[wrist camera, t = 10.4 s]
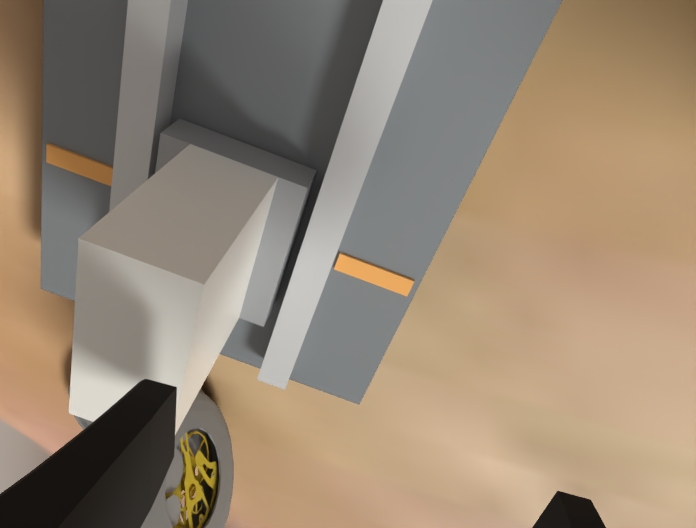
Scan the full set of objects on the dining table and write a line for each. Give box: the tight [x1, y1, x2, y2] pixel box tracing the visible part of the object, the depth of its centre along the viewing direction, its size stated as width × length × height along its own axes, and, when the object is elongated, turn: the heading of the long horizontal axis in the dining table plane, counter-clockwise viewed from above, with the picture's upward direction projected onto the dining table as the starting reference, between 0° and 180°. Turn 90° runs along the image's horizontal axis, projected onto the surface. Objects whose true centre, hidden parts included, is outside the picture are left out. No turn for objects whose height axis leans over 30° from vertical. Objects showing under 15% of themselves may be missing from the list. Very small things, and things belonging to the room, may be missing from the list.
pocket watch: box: [69, 388, 234, 528], centre depth 20 cm, size 8×8×10 cm
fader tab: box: [69, 119, 317, 435], centre depth 14 cm, size 4×5×6 cm
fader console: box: [41, 0, 562, 404], centre depth 14 cm, size 12×23×3 cm, turn 162°
